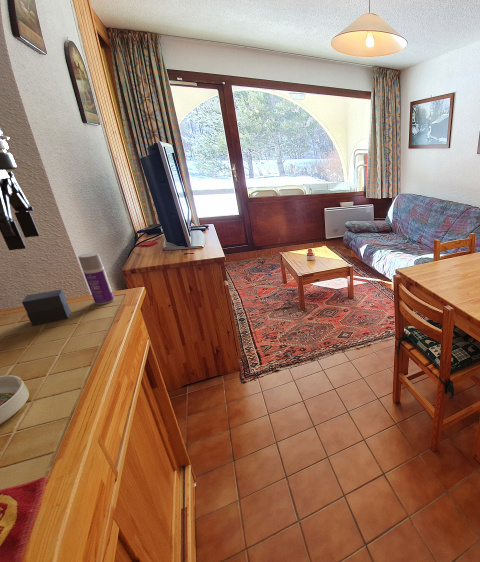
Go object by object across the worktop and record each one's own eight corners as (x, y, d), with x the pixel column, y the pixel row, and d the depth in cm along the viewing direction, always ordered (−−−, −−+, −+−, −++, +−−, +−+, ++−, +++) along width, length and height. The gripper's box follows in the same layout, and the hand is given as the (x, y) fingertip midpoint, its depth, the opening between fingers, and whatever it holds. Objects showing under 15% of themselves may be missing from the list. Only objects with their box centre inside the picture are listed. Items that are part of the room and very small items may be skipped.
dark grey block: (27, 314, 80) (21, 302, 79) (32, 306, 84) (26, 295, 82) (64, 307, 84) (59, 295, 83) (66, 300, 88) (62, 289, 86)
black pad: (32, 325, 81) (26, 314, 80) (36, 318, 85) (31, 306, 84) (68, 318, 85) (63, 307, 84) (70, 311, 89) (66, 300, 88)
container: (95, 306, 92) (77, 258, 86) (94, 300, 95) (77, 254, 89) (115, 301, 95) (99, 255, 89) (114, 296, 98) (98, 251, 92)
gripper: (-9, 152, 62) (34, 252, 70) (24, 150, 81) (55, 230, 89) (-68, 151, 58) (-15, 258, 66) (-19, 150, 77) (18, 233, 85)
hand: (25, 242), depth 78 cm, fingers open, 13 cm apart
